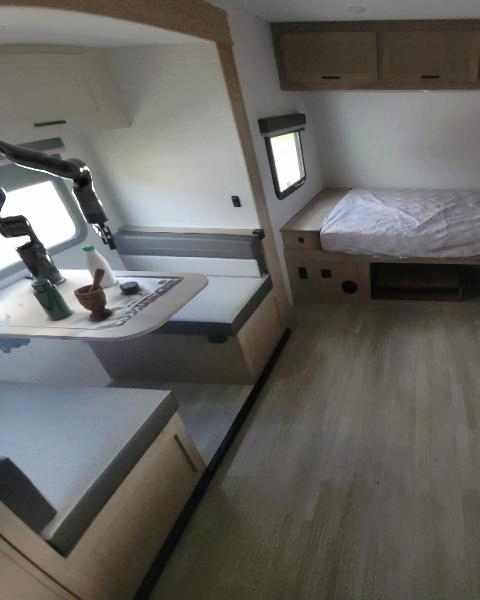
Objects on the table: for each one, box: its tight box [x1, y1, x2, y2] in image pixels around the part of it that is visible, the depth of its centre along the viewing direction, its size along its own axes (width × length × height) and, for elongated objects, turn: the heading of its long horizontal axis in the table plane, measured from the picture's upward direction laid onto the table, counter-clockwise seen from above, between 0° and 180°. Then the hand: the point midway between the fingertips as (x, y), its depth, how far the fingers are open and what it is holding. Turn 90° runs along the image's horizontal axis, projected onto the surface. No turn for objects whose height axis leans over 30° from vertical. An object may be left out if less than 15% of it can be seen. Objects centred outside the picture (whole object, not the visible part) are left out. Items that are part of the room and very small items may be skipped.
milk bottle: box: [81, 244, 117, 289], centre depth 156 cm, size 8×8×20 cm
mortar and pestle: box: [73, 268, 113, 322], centre depth 135 cm, size 12×9×20 cm
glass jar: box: [30, 279, 73, 321], centre depth 135 cm, size 7×7×16 cm
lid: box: [119, 281, 142, 296], centre depth 156 cm, size 7×7×3 cm
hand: (110, 246), depth 146 cm, fingers open, 8 cm apart
